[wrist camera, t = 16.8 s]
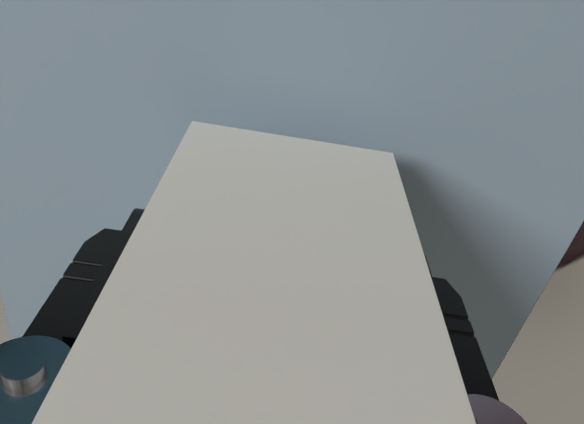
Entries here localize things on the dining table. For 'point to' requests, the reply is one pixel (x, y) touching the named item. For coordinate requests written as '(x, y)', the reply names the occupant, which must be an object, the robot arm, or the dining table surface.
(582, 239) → the dining table surface
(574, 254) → the dining table surface
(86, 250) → the robot arm
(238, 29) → the box lid
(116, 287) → the block
